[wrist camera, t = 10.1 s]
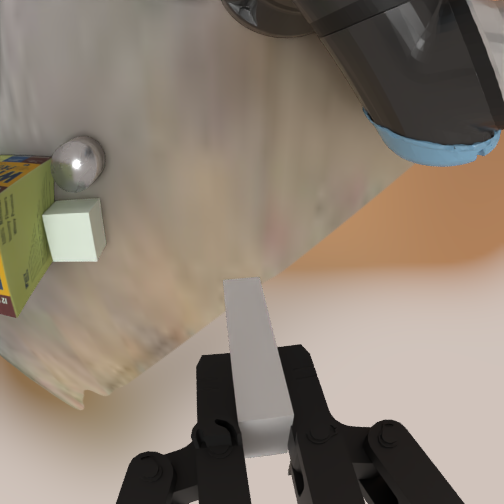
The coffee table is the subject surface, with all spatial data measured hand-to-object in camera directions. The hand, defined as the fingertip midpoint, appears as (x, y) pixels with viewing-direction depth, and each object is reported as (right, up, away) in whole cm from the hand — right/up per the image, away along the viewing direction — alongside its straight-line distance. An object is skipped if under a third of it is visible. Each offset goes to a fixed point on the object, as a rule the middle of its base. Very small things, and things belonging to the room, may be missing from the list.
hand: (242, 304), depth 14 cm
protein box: (-33, +9, +25) cm, 42 cm away
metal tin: (-22, +14, +23) cm, 35 cm away
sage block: (-24, +7, +27) cm, 37 cm away
